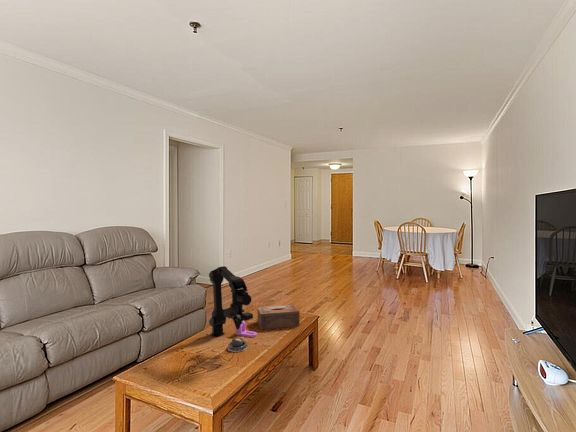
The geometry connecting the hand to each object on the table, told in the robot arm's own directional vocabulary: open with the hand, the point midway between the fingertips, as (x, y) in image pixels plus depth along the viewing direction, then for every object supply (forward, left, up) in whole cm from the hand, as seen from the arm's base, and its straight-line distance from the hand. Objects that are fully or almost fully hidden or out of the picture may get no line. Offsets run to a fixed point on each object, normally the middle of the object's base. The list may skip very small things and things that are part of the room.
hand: (237, 329), depth 185 cm
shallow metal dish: (0, 0, -10) cm, 10 cm away
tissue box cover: (-6, +43, -11) cm, 45 cm away
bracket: (-9, +17, -11) cm, 22 cm away
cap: (0, 0, -10) cm, 10 cm away
